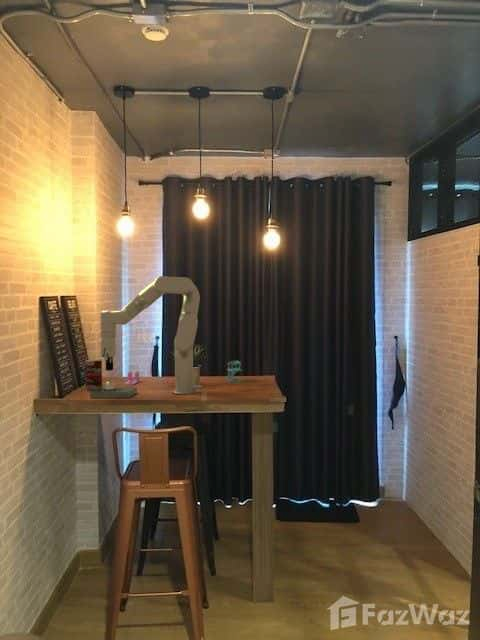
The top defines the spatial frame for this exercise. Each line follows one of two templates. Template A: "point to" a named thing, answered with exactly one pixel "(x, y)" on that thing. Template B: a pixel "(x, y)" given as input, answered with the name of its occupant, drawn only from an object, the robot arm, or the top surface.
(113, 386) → the bushing
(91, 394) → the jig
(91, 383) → the supplement box
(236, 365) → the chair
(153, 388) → the top surface
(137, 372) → the pink notched block
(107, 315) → the robot arm
